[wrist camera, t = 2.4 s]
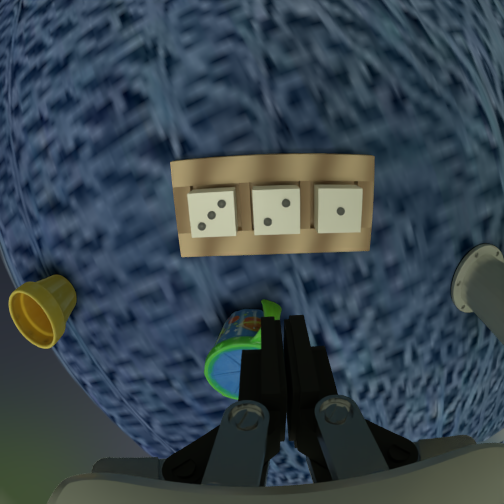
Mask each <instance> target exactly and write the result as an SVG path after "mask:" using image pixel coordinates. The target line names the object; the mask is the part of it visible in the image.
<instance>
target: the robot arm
mask: <svg viewBox="0 0 504 504" xmlns="http://www.w3.org/2000/svg"><path fill="white" fill-rule="evenodd" d="M451 296H452V301H453V303H454V304H455V306H456V307H457V308H458V309H459V310H460V311H463V312H468V313H469V312H474V313H475V314H476V315H477V316H478V317H479V318H480V319H481V320H482V321H483V323H484V324H485V325H486V326H487V327H488V328H489V329H490V330H491V331H492V333H493V334H494V335H495V336H496V337H497V338H498V339H499V341H500V342H501V343H502V344H503V345H504V258H503V255H502V253H501V251H500V250H499V249H498V248H497V247H495V246H494V245H491V244H482V245H479V246H477V247H475V248H473V249H472V250H471V251H470V252H469V253H468V254H467V255H466V256H465V257H464V258H463V260H462V261H461V263H460V264H459V266H458V268H457V270H456V272H455V275H454V277H453V281H452V286H451ZM286 412H287V424H288V437H289V441H294V444H295V448H297V449H298V451H300V452H301V453H303V454H304V455H306V461H307V464H308V468H309V471H310V474H311V477H312V480H313V484H303V485H291V486H272V487H265V486H266V481H267V475H268V470H269V464H270V459H271V458H272V457H274V456H275V455H276V454H277V453H278V452H279V451H280V441H284V440H285V426H286ZM47 504H504V444H502V443H481V444H476V442H475V440H474V439H473V438H472V437H470V436H467V435H458V436H451V437H442V438H433V439H422V440H418V442H411V441H410V440H408V439H406V438H404V437H402V436H399V435H397V434H395V433H393V432H391V431H389V430H387V429H384V428H382V427H380V426H378V425H376V424H374V423H372V422H370V421H368V420H366V419H364V417H363V415H362V413H361V411H360V409H359V407H358V405H357V404H356V403H355V401H353V400H352V399H351V398H349V397H346V396H344V395H338V393H337V389H336V386H335V382H334V378H333V374H332V371H331V367H330V363H329V359H328V356H327V352H326V349H325V347H324V346H315V347H311V346H310V341H309V337H308V333H307V328H306V324H305V319H304V315H292V316H289V319H284V352H283V343H282V333H281V324H280V320H275V317H274V316H268V317H261V349H252V350H242V354H241V368H240V382H239V397H238V402H235V403H233V404H231V405H230V406H229V407H228V408H227V409H226V410H225V412H224V414H223V417H222V420H221V424H220V425H219V426H217V427H216V428H214V429H213V430H211V431H210V432H208V433H207V434H205V435H204V436H202V437H200V438H199V439H197V440H196V441H194V442H192V443H191V444H189V445H188V446H186V447H184V448H183V449H181V450H179V451H178V452H176V453H174V454H172V455H171V456H170V457H168V458H167V459H158V457H144V458H113V457H112V458H111V457H108V458H102V459H100V460H98V461H97V462H96V463H95V464H94V465H93V468H92V472H91V473H86V474H79V475H74V476H71V477H68V478H66V479H64V480H63V481H62V482H61V483H60V484H59V485H58V486H57V487H56V489H55V490H54V492H53V493H52V495H51V497H50V499H49V500H48V503H47Z"/></svg>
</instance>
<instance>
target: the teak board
mask: <svg viewBox="0 0 504 504" xmlns="http://www.w3.org/2000/svg"><path fill="white" fill-rule="evenodd" d="M170 164H171V175H172V185H173V194H174V203H175V212H176V220H177V228H178V236H179V243H180V250H181V257H196V256H227V255H258V254H288V253H318V252H347V251H369V250H370V239H371V227H372V213H373V194H374V156H372V155H360V154H326V153H291V154H256V155H236V156H221V157H208V158H196V159H186V160H176V161H172V162H170ZM270 185H297V186H298V187H299V188H300V234H279V235H254V216H253V196H252V189H253V186H270ZM314 185H357V186H359V187H360V188H362V189H363V195H362V216H361V232H354V233H317V231H316V229H315V227H314ZM225 187H235V188H236V204H237V220H238V231H237V235H236V236H223V237H199V238H192V234H191V226H190V217H189V207H188V198H187V194H188V193H189V192H190V191H192V190H195V189H209V188H225Z"/></svg>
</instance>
